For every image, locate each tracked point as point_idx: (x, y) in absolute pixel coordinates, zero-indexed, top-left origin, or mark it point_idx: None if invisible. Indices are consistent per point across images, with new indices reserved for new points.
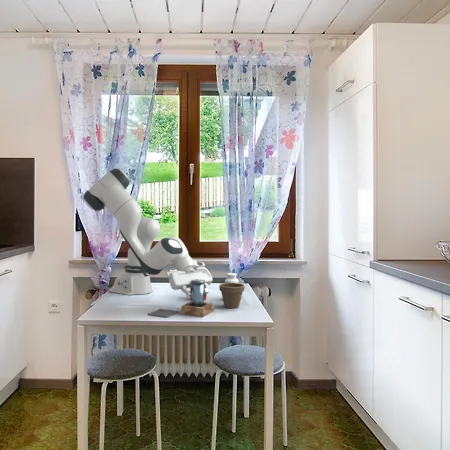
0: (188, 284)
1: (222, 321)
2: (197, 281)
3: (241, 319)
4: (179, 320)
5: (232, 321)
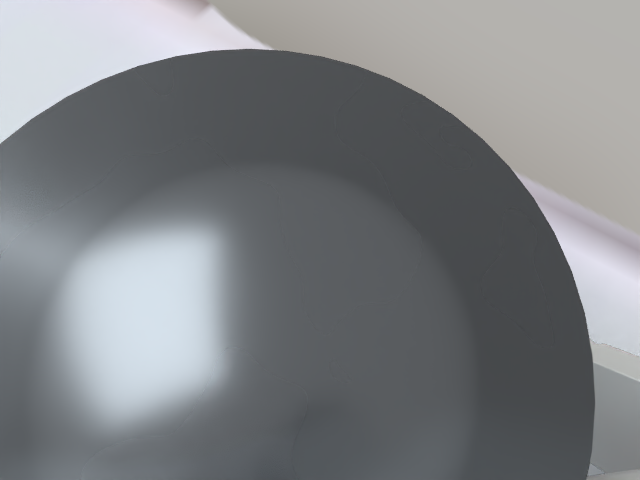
0: (626, 474)
1: (243, 42)
2: (389, 153)
3: (66, 9)
4: (584, 248)
5: (172, 6)
